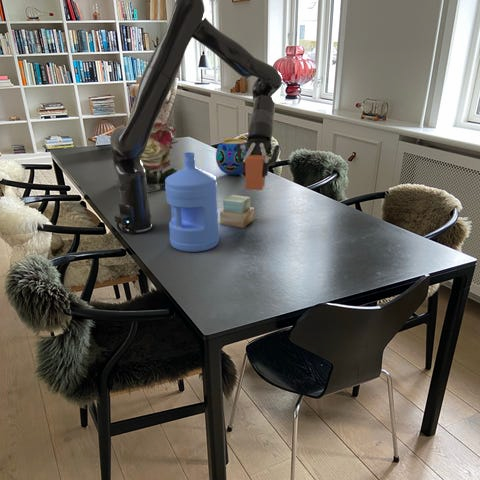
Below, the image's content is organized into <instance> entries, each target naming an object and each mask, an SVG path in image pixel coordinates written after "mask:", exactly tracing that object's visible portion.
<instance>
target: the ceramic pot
mask: <svg viewBox="0 0 480 480" xmlns="http://www.w3.org/2000/svg"><path fill="white" fill-rule="evenodd" d="M246 142H247V140H246V139H241V138H229V139H224V140H222V141H220V143H219V144H218V145H217V148H216V151H215V161H216V165H217V167H218V168H219V170H220V171H221V172H222V173H225V174H226V175H230V176H239V175H243V173H242V167H243V165H242V164H241V165H240V164H239V162H238V157H237V144H240V145H245V144H246ZM246 153H247V150H246V149H244V152H243V153H242V159H244V158H245V156H246Z"/></svg>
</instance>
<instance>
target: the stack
mask: <svg viewBox="0 0 480 480" xmlns="http://www.w3.org/2000/svg"><path fill="white" fill-rule="evenodd" d="M222 202H223V209H222V210H221V211H219V224H220V225H223V226H229V227H235V228H242V229H244V228H245V227H246V226H247V225H249V224H251V223H252V222H254V220H255V207H251V197H250V196H245V195H238V194H237V195H236V194H231V195H230V196H228V197H227V198H224V199H223V201H222Z"/></svg>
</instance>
